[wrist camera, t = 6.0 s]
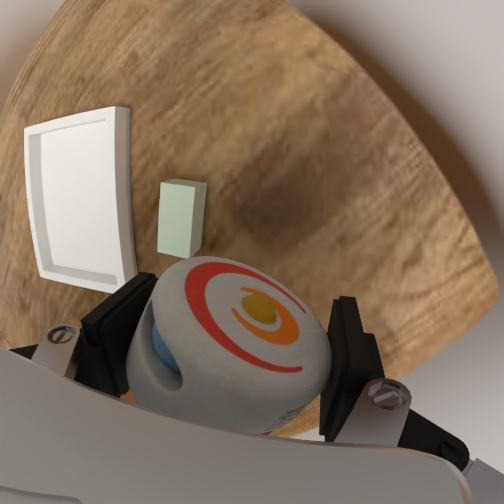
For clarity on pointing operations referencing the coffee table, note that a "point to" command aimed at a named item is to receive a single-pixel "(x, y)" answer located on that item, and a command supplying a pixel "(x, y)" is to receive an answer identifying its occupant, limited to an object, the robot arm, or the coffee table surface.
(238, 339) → the roller toy
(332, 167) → the coffee table surface
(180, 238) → the sage block
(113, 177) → the tray
